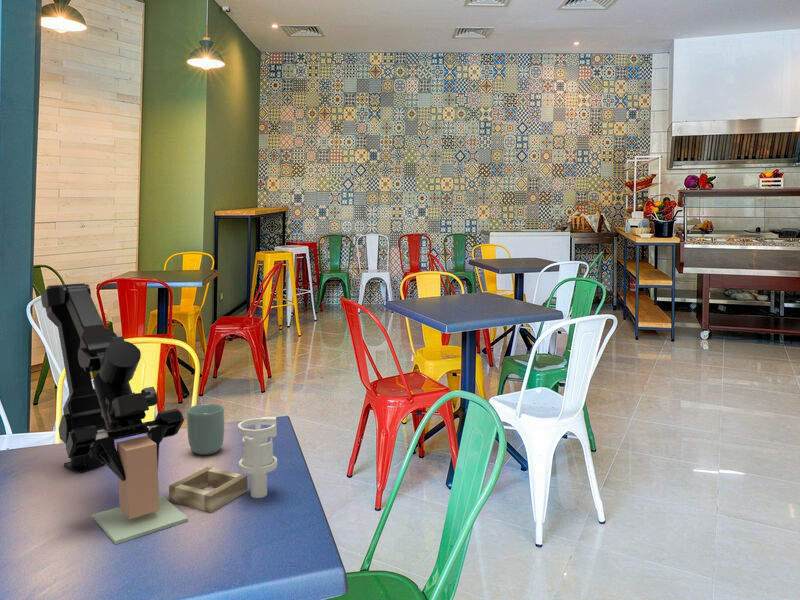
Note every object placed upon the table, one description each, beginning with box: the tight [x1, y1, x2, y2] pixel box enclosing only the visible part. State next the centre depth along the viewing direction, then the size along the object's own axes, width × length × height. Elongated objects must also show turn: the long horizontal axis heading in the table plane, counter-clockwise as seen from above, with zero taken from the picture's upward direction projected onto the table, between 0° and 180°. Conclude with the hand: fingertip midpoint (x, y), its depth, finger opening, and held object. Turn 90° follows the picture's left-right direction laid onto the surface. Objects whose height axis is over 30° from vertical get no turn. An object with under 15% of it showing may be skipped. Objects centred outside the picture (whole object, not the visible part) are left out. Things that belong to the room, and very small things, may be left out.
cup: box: [186, 403, 225, 456], centre depth 140 cm, size 8×8×10 cm
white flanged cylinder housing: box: [237, 416, 278, 499], centre depth 118 cm, size 7×7×15 cm
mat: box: [92, 494, 189, 545], centre depth 109 cm, size 12×12×1 cm
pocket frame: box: [168, 466, 249, 513], centre depth 118 cm, size 10×10×3 cm
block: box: [115, 435, 160, 519], centre depth 108 cm, size 5×5×12 cm
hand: (140, 475), depth 107 cm, fingers closed on block, 5 cm apart
